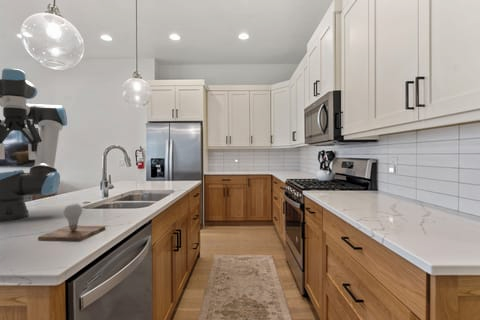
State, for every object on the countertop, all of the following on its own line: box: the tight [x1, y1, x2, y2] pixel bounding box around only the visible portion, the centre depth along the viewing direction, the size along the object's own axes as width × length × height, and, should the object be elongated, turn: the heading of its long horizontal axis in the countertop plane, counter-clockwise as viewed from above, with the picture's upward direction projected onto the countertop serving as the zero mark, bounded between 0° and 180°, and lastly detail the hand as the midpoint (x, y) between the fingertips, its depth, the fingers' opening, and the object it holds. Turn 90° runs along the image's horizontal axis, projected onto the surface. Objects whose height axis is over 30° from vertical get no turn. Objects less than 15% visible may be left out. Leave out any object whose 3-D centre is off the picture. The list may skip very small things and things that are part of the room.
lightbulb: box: [63, 202, 83, 231], centre depth 107 cm, size 6×6×11 cm
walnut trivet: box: [37, 225, 106, 242], centre depth 108 cm, size 16×16×1 cm
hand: (16, 159), depth 114 cm, fingers open, 13 cm apart
